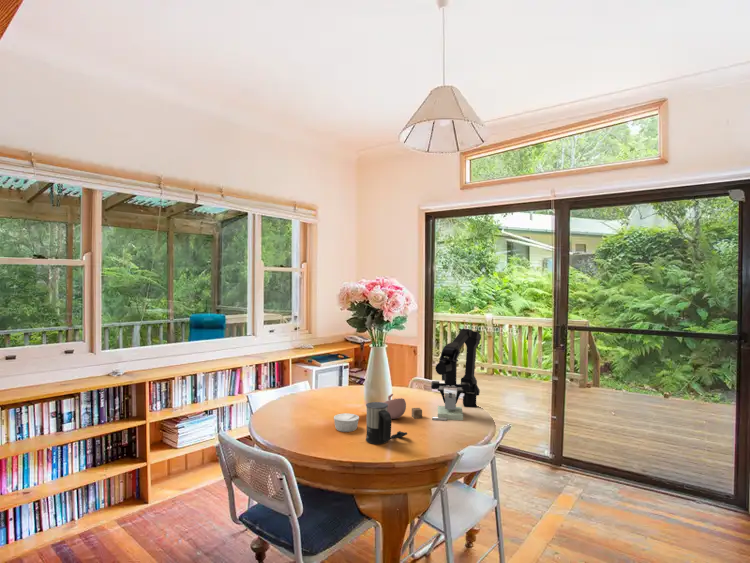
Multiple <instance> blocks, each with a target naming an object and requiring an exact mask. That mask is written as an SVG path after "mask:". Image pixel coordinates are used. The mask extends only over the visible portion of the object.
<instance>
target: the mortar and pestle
mask: <svg viewBox="0 0 750 563" xmlns="http://www.w3.org/2000/svg"><path fill="white" fill-rule="evenodd" d="M393 395H394V394H393V393H390V395H388V396H387V399H388V400H385V401H383V403H386V404H388V407H387V412H389V413H390V415H391V420H394V419H400V418H401V417H402V416H404V414H405V412H406V410H407V402H406V399H405V398H402V397H400V398H394V399H391V398H392V397H393Z"/></svg>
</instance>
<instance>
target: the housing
mask: <svg viewBox="0 0 750 563" xmlns="http://www.w3.org/2000/svg"><path fill="white" fill-rule="evenodd" d="M444 396H445V403H444V406H445V409H452V410H456V407H457V404H456V393H452V392H444Z"/></svg>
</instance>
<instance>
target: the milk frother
mask: <svg viewBox="0 0 750 563" xmlns="http://www.w3.org/2000/svg"><path fill="white" fill-rule="evenodd" d="M383 402H384V401H383ZM383 402H382V401H381V402H380V401H373V402H368V403H366V404H365V407H366V436H365V441H366V442H367V443H369V444H373V445H382V444H385V443H388V441H391V440H393V439H402V438H403V437H405V436H406V435H408V432H405V431H404V432H403V431H401V430H400V431H397V432H396V433H395V434H392V421H393V419H391V415H390V413H389V412H387V407H388V404H386V403H383Z"/></svg>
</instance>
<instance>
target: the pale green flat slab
mask: <svg viewBox="0 0 750 563" xmlns="http://www.w3.org/2000/svg"><path fill="white" fill-rule="evenodd" d="M437 417H446V418H447V421H450V420H451V421H452V420H453V421H464V412H463V407H462V406H456V410H452V409H445V405H438V406H437Z"/></svg>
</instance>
